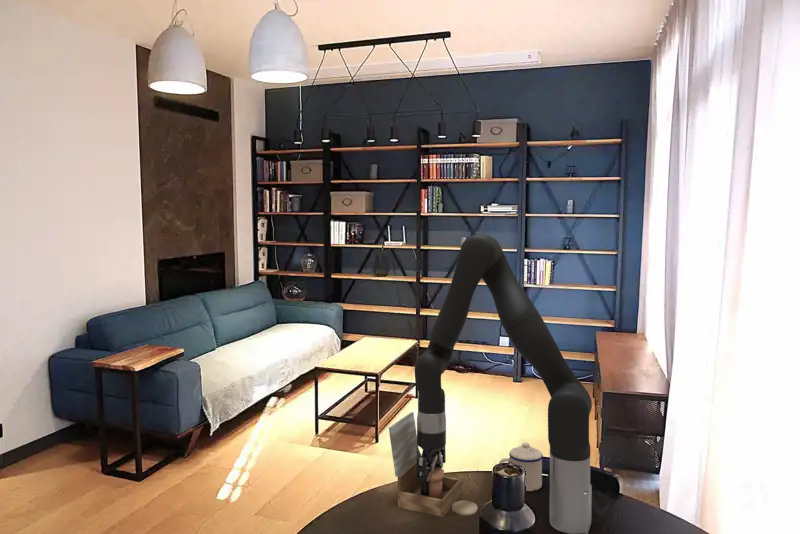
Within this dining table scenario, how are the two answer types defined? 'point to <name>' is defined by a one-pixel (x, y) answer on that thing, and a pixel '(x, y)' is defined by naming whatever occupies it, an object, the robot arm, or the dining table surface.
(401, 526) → the dining table surface
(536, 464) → the teacup with lid
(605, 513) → the dining table surface
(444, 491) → the cold frame
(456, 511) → the coaster
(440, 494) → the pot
